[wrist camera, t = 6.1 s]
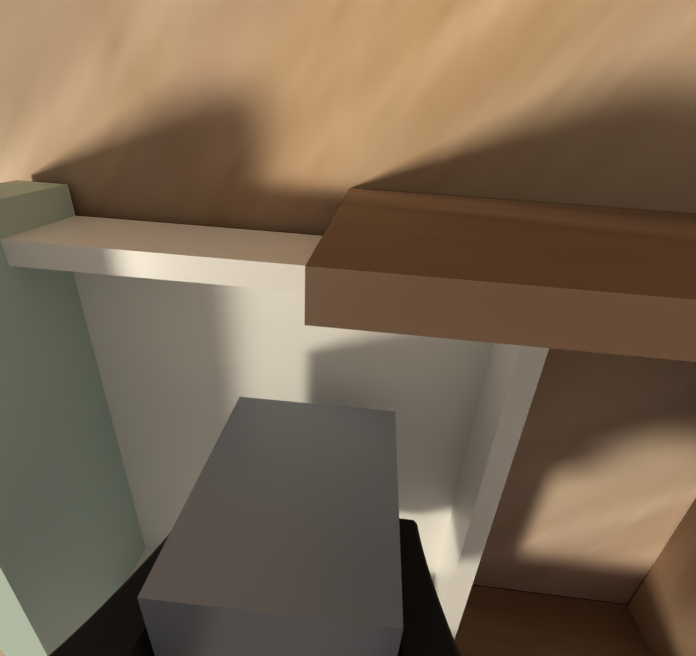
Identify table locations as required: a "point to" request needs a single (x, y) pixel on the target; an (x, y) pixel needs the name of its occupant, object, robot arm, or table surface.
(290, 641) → the grey upright block
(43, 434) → the tray
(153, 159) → the table surface
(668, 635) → the dock housing
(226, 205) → the table surface
